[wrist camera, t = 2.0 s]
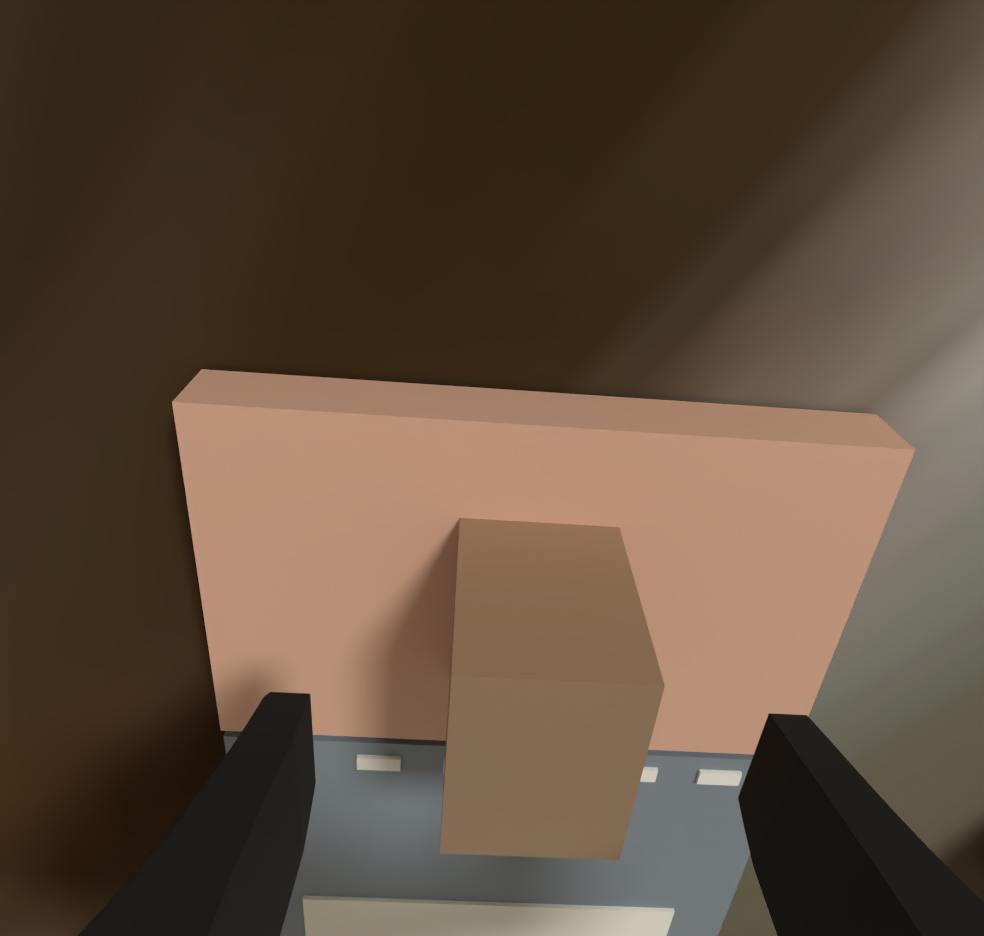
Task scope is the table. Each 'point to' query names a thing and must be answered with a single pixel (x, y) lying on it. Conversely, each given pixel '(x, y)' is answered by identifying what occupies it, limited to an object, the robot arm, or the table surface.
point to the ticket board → (509, 879)
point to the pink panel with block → (526, 578)
